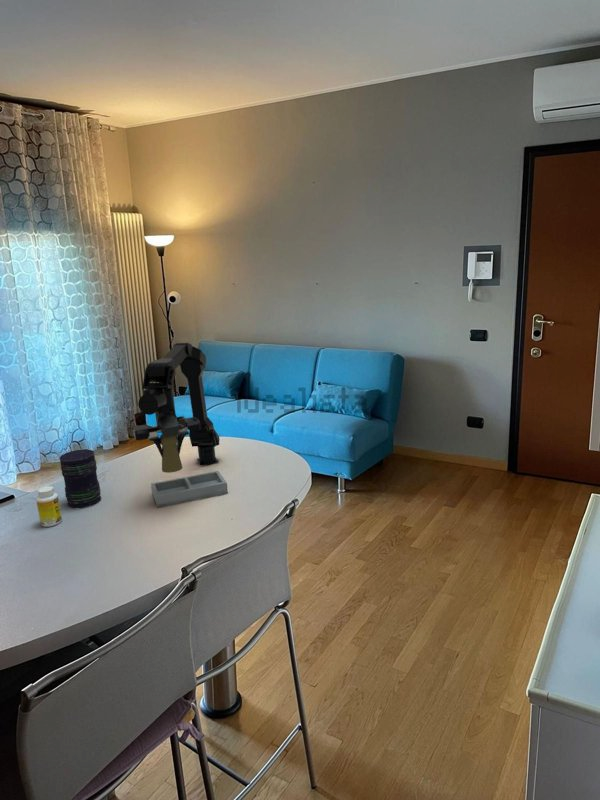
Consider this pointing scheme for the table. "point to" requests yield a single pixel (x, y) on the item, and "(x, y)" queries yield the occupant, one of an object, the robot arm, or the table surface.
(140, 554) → the table surface
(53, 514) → the supplement bottle
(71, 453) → the storage jar
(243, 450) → the table surface
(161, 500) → the caddy
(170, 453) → the olive rounded piece
